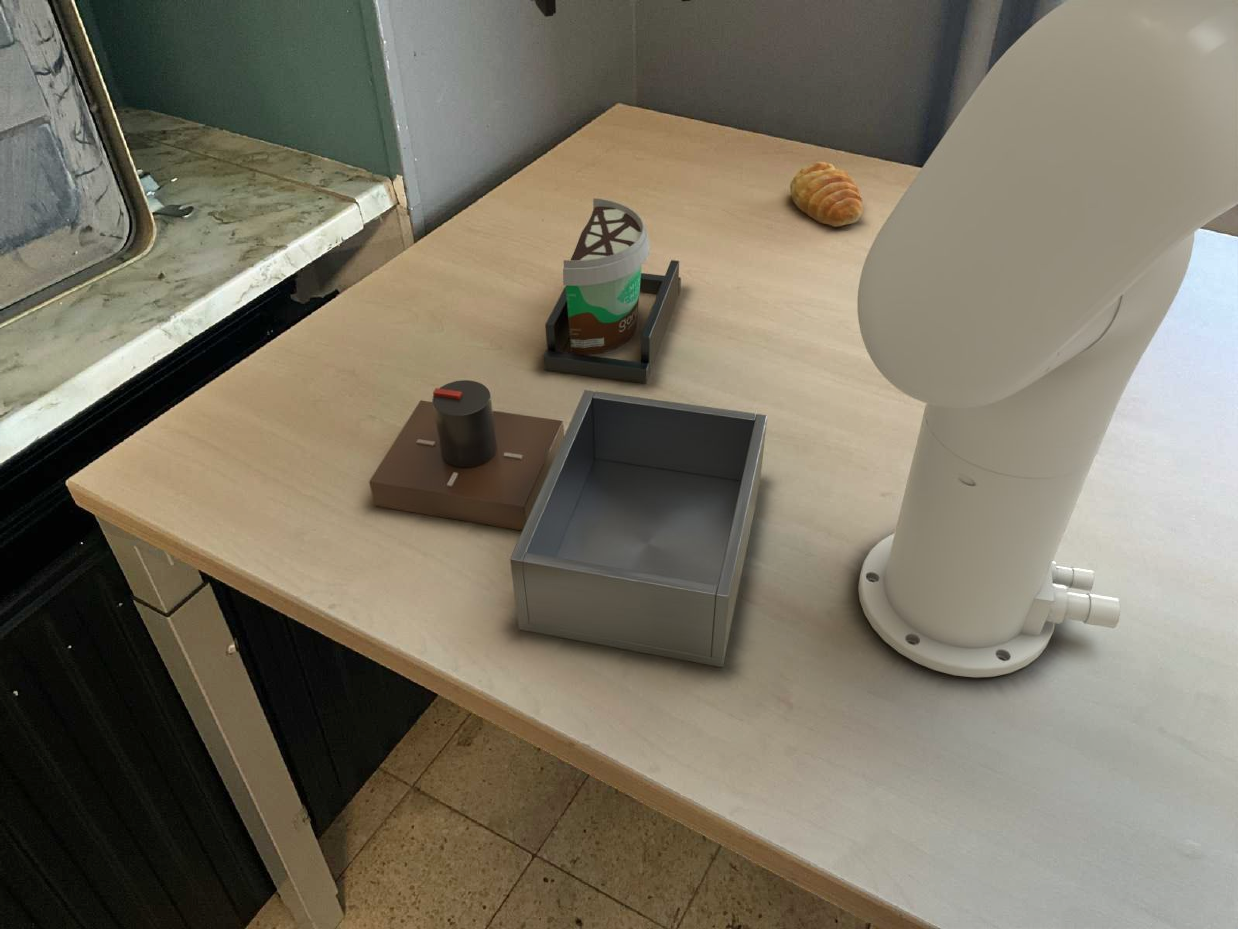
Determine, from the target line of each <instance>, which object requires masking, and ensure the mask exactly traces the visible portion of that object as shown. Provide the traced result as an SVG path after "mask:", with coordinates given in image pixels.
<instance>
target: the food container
mask: <svg viewBox="0 0 1238 929" xmlns="http://www.w3.org/2000/svg"><path fill="white" fill-rule="evenodd" d="M592 201H593V204H592V205H593V207H592V208H593V210H592V212H591V215H590V218H589V219H588V222H587V223H586V225H585V226H584V228H583V229H582V231H581V233H580V236H579V238H578V241H577V243H576V246H575V249H574V251H573V254H572V256H571V258H570V259H563V268H562V285H563V286H566V296H567V308H568V319H569V330H570V336H569V339H570V351H571V352H570V353H573V354H581V355H591V354H592V355H593V354H601V353H605V352H608V351H611V350H614V349H615V350H616V349H617V348H619V347H620V346H623V345H624V344H626V343H627V342H629V341H630V340H631V339H632V337H633V336H634V335H635V334H636V331H637V327H638V315H639V303H640V292H641V291H640V280H641V273H642V269H643V268H642V267H643V265H644V264H645V263H646V262H647V260H648V258H649V256H650V253H651V243H650V238H649V235H648V231H647V228H646V225H645V224H644V221H643V219H642V217H641V216H640V215H639V214H638V212H636V211H635V210H634V209H632V208H630V207H629V206H627V205H625V204H622V203H620V202H617V201H614V200H610V199H605V198H599V197H593V200H592Z"/></svg>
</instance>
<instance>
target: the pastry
mask: <svg viewBox="0 0 1238 929" xmlns="http://www.w3.org/2000/svg"><path fill="white" fill-rule="evenodd" d="M789 189H790V194H791V198H792V201H793V202H794V203H795V205H796V207H797V208H798V209H800V210H801V211H802V212H803V213H805V214H807V215H808V216H809V218H812V219H813V220H814V221H817V222H818V223H820V224H824V225H829V226H831V227H834V228H836V227H842V226H844V225H851V224H854V223H857V222H858V221H859V219H860V218H861V216H862V215H863V214H864V209H863V208H864V207H863V198H862V197H861V193H860V189H859V188H858V186H857V184H856V183H855V181H854V179H853V178H852V177H851V176H850V175H849V174H848V173H847V171H846V170H844V169H840V168H839V169H838V168H835V167H834V165H833V164H831V163H829V162H824V161H818V162H812V163H811V164H809V165H807V166H806V167H803V168H801V169H800V170H798V172H797V173H796V174H795V176H794V177H793V179H792V180H791V182H790V185H789Z"/></svg>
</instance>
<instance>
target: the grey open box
mask: <svg viewBox="0 0 1238 929" xmlns="http://www.w3.org/2000/svg"><path fill="white" fill-rule="evenodd" d="M767 424H768V415H767V414H761V413H754V412H747V411H741V410H740V411H739V410H734V409H725V408H718V407H713V406H712V407H710V406H705V405H704V406H703V405H696V404H689V403H682V402H675V401H667V400H661V399H655V398H654V399H653V398H647V397H640V396H639V397H638V396H631V395H624V394H617V393H610V392H603V391H595V390H587V389H584V391H583V393H582V395H581V397H580V399H579V402H578V404H577V407H576V409H575V411H574V414H573V416H572V418H571V420H570V422H569V425H568V427H567V428H566V431H565V433H564V438H563V440H562V443H561V445H560V447H559V449H558V452H557V454H556V456H555V458H554V461H553V463H552V465H551V468H550V470H549V472H548V474H547V477H546V479H545V481H544V483H543V486H542V488H541V490H540V492H539V495H538V497H537V499H536V502H535V504H534V506H533V508H532V511H531V513H530V515H529V517H528V520H527V522H526V524H525V526H524V529H523V530H521V533H520V535H519V538H518V540H517V542H516V545H515V547H514V549H513V552H512V554H511V555H510V558H509V562H510V569H511V578H512V586H513V594H514V601H515V603H514V604H515V610H516V618H517V626H518V630H519V631H526V632H529V633H530V632H531V633H536V634H541V635H546V636H553V637H558V638H563V639H569V640H573V641H579V642H584V643H590V644H596V645H599V646H600V645H601V646H606V647H611V648H616V649H621V650H626V651H627V650H628V651H632V652H638V653H643V654H648V655H653V656H660V657H664V658H670V659H675V660H680V661H686V662H690V663H696V664H703V665H707V666H713V667H719V668H723V667H724V662H725V658H726V653H727V649H728V644H729V640H730V639H729V638H730V633H731V628H732V624H733V618H734V613H735V608H736V604H737V599H738V593H739V589H740V584H741V579H742V574H743V570H744V564H745V559H746V554H747V549H748V545H749V539H750V536H751V535H750V534H751V529H752V526H753V520H754V515H755V511H756V505H757V500H758V496H759V491H760V486H761V476H762V470H763V469H762V467H763V461H764V460H763V459H764V449H765V442H766V441H765V440H766V431H767Z"/></svg>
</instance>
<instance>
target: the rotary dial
mask: <svg viewBox="0 0 1238 929" xmlns="http://www.w3.org/2000/svg"><path fill="white" fill-rule="evenodd" d="M492 411H493V419H494V427H495V435H496V443H497V450H496V453H495V454H494V456H493V457H492V458H491V459H490V460H489V461H487V462H486V463H484V464H482V465H479V466H475V467H468V468H463V467H456V466H453V465H451V464H449V463H447V462H446V461H445V460H444V459H443V457H442V454H441V449H440V443H439V437H438V431H437V426H436V420H435V414H434V408H433V402H432V401H429V400H423V399H421V400H419V402H418V404H417V405H416V407H415V408H414V410H413V411H412V413H411V414H410V416H409V417H408V420H407V421H406V423H405V424H404V426H403V427H402V429H401V430H400V432H399V434H398V435H397V437H396V438H395V440H394V441H393V443H392V445H391V446H390V447H389V449H388V451H387V453H386V454H385V456H384V457H383V458H382V461H381V462H380V464H379V465H378V467H377V468H376V469H375V471H374V473H373V475H372V476H371V478H369V481H368V483H369V487H370V492H371V495H372V499H373V503H374V506H375V507H381V508H386V509H392V510H399V511H404V512H411V513H416V514H422V515H428V516H433V517H440V518H446V519H452V520H457V521H463V522H470V523H477V524H482V525H487V526H493V527H494V526H495V527H499V528H506V529H510V530H511V529H512V530H517V531H523V529H524V526H525V524H526V522H527V520H528V517H529V515H530V513H531V511H532V508H533V506H534V504H535V502H536V499H537V497H538V495H539V492H540V490H541V488H542V486H543V483H544V481H545V479H546V477H547V474H548V472H549V470H550V468H551V465H552V463H553V461H554V458H555V456H556V454H557V452H558V449H559V447H560V445H561V443H562V440H563V438H564V436H565V429H564V428H565V427H564V420H559V419H554V418H553V419H552V418H547V417H546V418H545V417H541V416H540V417H539V416H532V415H525V414H519V413H511V412H504V411H499V410H492Z"/></svg>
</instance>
